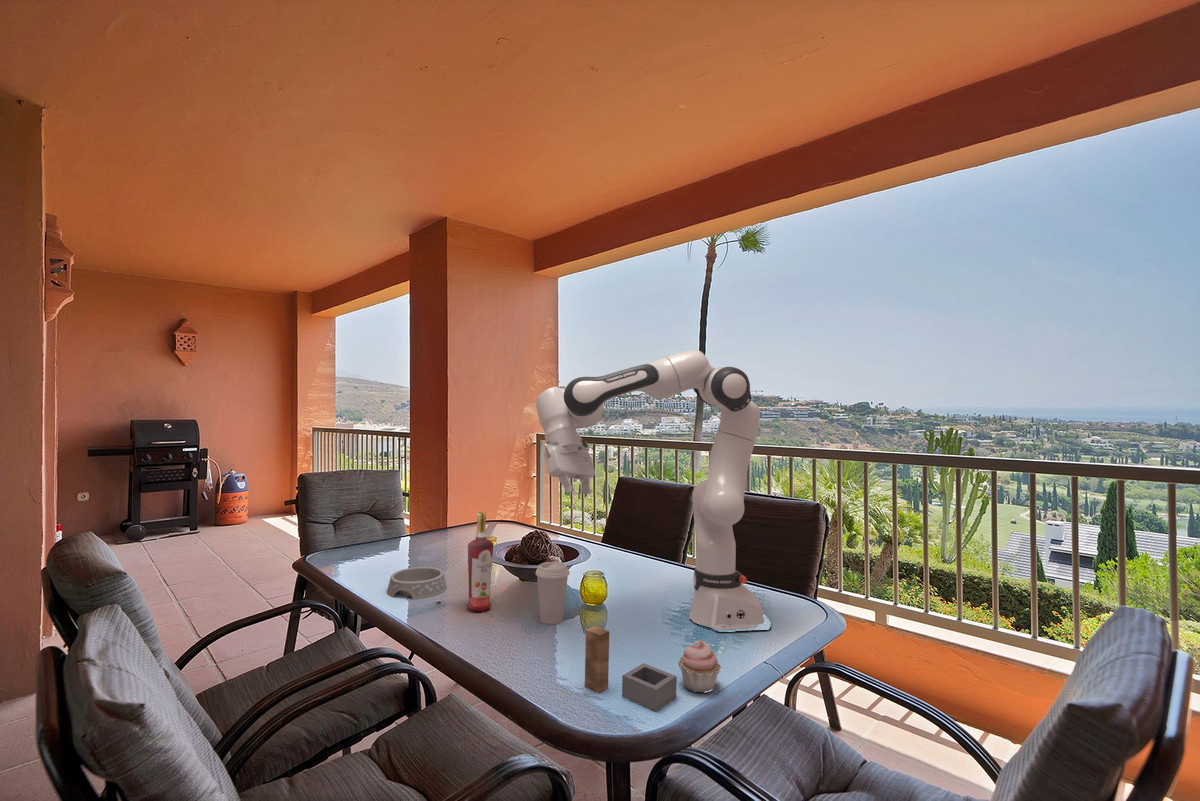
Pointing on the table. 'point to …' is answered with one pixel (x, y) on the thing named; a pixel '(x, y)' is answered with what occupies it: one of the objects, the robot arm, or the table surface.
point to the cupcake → (699, 667)
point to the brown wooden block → (597, 659)
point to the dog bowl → (417, 582)
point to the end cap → (649, 686)
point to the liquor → (480, 567)
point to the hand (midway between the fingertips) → (579, 493)
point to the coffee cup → (552, 591)
